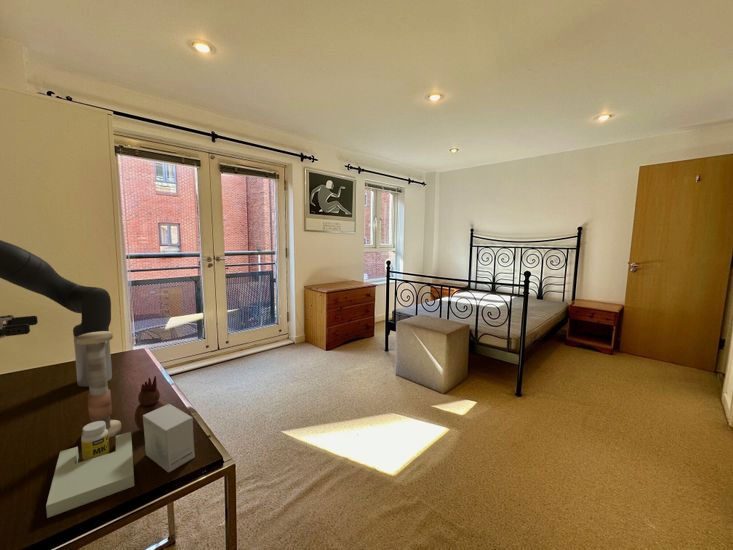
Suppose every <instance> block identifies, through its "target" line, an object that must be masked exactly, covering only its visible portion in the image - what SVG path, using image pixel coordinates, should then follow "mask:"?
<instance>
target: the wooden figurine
mask: <svg viewBox="0 0 733 550" xmlns="http://www.w3.org/2000/svg"><path fill="white" fill-rule="evenodd" d="M157 383H158V382H157V376H156V375H155V376H154V377H153V381H152V380H151V377H148V381H144V383H143V384H141V388H140V392H139V393H138V397H137V400H138V403H139V405H137V407H136V409H135V412H134V422H135V425H136V428H138V429H139V431H140V432H142V433H144V424H143V415H145V414H147V413H149V412H151V411H154V410H156V409H158V408H161V407H163V406H165V405H164V404H163V403H162V402H161V401H160V396H161V394H160V391H159V389H158V386H157V385H158V384H157Z"/></svg>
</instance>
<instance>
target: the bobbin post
mask: <svg viewBox="0 0 733 550" xmlns="http://www.w3.org/2000/svg"><path fill="white" fill-rule="evenodd" d="M113 338H114V336H113V332H112V331H110V330H109V331H99V332H91V333H86V334H82V335H79V336H77V337H76V343H77V344H79V345H86V353H87V366H88V378H89V386H88V388H89V390H88V391H89V393H88V394H87V396H86V397H87V408H88V419H89V420H90V421H91V423H92V422H96V421H104V422H105V424H106V429H107V430H108V437H109V439H111V438H113V437H116V436H117V434H119V433H120V432H121V431H122V423H121V421H120V420H117V419H111V415H112V414H113V405H112V392H111V389H110V388H109V386H108V381H107V369H106V355H105V342H106V341H109V340H110V341H112V340H113ZM80 436H81V438H82V436H83V431H82V432H81V435H80Z"/></svg>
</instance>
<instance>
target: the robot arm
mask: <svg viewBox="0 0 733 550" xmlns="http://www.w3.org/2000/svg"><path fill="white" fill-rule="evenodd" d="M0 279H1V280H4V281H6V282H9V283H10V284H13V285H16V286H18V287H20V288H23V289H25V290H28V291H31V292H33V293H36V294H39V295H42V296H44V297H46V298H48V299H50V300H52V301H53V302H55V303H56V304H59V305H60V306H62V307H64V308H65V309H67V310H68V311H70V312H73V313H76V314H80V315H81V322H80V323H79V324H77V325H75V326H74V327H73V329H72V335H73V345H74V346H73V347H74V354H75V355H74V357H75V369H76V370H75V371H76V381H77V386H79V387H82V388H83V387H89V378H88V366H87V353H86V345H79V344H77V343H76V337H77V336H79V335H82V334H86V333H91V332H99V331H109V332H110V330H109V327H110V325H111V322H112V301H111V295H110V293H109V292H108V291H107V290H106V289H105V288H102V287H96V286H88V285H87V286H86V285H81V284H78V283H75V282H73V281H71V280H69V279H66V278H64V277H63V276H61V275H60V274H59V273H58V272H57V271H56V270H55V269H54V268H53V266H52V265H50V263H48V262H47V261H46V260H44V259H43V258H41V257H39V256H37V255H35V254H33V253H32V252H30V251H28V250H27V249H25V248H23V247H20V246H18V245H16V244H14V243H13V244H12V243H9V242H7V241H4V240H1V239H0ZM4 322H5V323H4ZM38 322H39V321H38V316H37V315H30V316H29V315H28V316H27V315H26V316H18V317H17V316H13V315H11V314H8V315H0V340H1V339H3V338H5V337H12V336H14V337H15V336H21V335H29V333H31V327H30V326H35V325H37V324H38ZM105 355H106V369H107V382H109V381H111V380H112V378H113V369H112V358H111V357H112V355H111V340H109V341H106V342H105Z"/></svg>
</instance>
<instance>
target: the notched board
mask: <svg viewBox="0 0 733 550" xmlns="http://www.w3.org/2000/svg"><path fill="white" fill-rule="evenodd" d="M132 443H133V441H132V431H128V432H125V433H121V434H118V435H117V434H116V435H115V451H112V452H109V454H106V455H102V456H99V457H96V458H93V459H89V460H86V461H83V460H82V461H79V456H80V455H79V446H75V447H72V448H68V449H65V450H60V451H59V455H58V459H57V462H56V466H55V470H54V475H53V478H52V481H51V485H50V490H49V493H48V497H47V502H46V505H45V509H46V518H47V519H48V518H50V517H51V518H52V517H54V516H56V515H59V514H62V513H64V512H68V511H70V510H73V509H77V508H78V507H80V506H84V505H86V504H90V503H92V502H95V501H98V500H100V499H103V498H105V497H107V496H111V495H114V494H115V493H116V494H117V493H118V492H122V491H124V490H127V489H129V488H132V487H135V475H134V474H135V473H134V472H135V471H134V460H133V444H132Z"/></svg>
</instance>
